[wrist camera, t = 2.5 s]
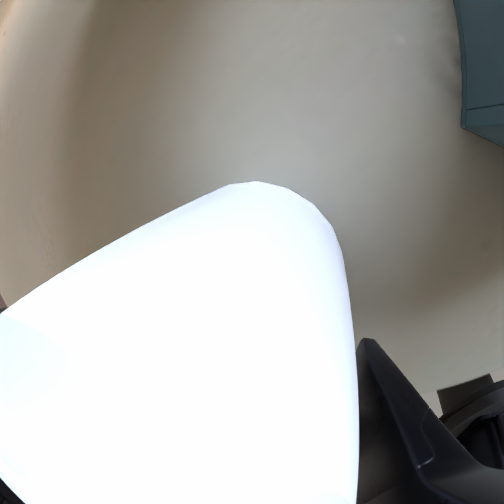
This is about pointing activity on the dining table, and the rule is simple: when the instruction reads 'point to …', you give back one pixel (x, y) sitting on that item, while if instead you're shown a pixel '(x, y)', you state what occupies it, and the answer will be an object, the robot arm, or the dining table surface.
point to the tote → (482, 66)
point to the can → (188, 364)
